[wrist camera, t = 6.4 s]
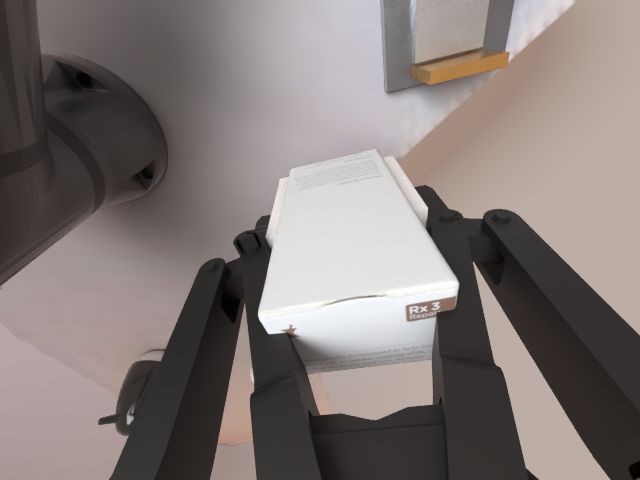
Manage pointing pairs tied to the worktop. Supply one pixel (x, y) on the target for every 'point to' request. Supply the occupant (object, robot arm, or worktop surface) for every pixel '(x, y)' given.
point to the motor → (442, 39)
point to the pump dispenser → (134, 392)
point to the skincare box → (354, 269)
